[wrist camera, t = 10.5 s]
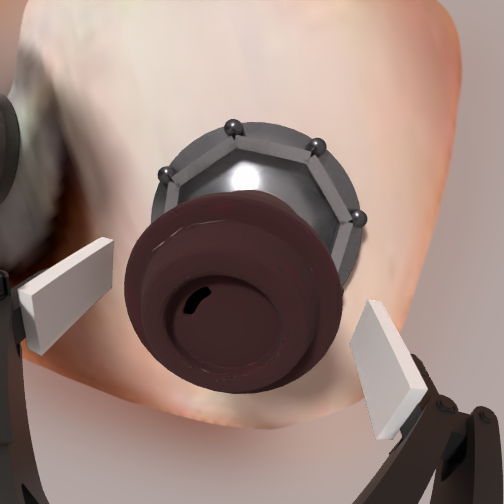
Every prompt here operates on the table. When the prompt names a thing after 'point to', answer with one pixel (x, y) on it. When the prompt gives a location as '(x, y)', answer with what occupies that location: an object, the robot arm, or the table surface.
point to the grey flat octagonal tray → (271, 180)
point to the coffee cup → (233, 292)
